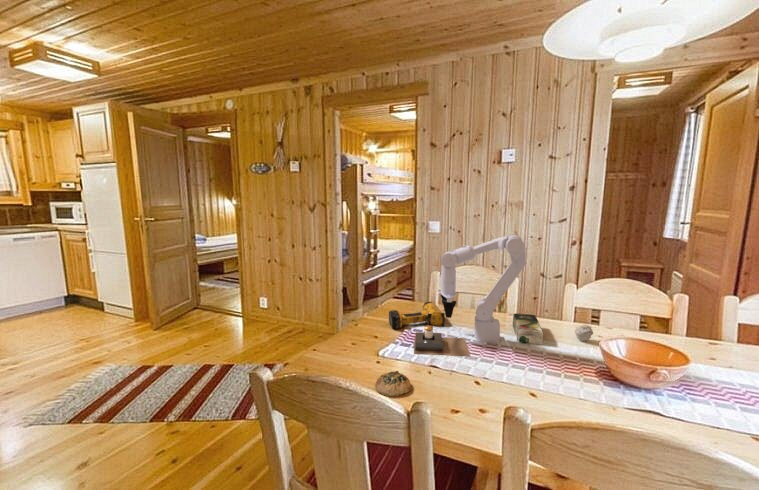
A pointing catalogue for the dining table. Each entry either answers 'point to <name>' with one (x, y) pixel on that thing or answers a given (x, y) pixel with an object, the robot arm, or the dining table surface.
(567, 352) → the dining table surface
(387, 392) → the bread roll
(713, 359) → the dining table surface
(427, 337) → the metal peg
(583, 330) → the grey rock
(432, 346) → the socket block
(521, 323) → the juice carton
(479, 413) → the dining table surface
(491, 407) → the dining table surface
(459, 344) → the walnut board
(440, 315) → the power drill
